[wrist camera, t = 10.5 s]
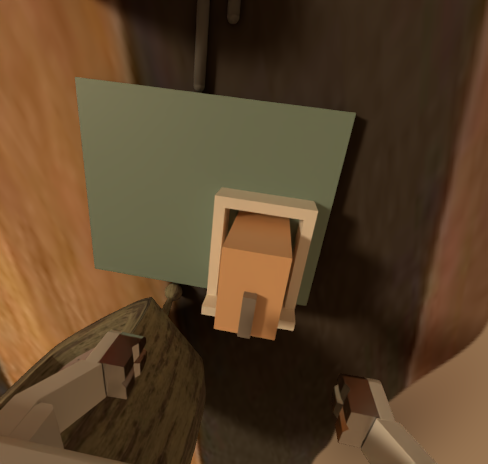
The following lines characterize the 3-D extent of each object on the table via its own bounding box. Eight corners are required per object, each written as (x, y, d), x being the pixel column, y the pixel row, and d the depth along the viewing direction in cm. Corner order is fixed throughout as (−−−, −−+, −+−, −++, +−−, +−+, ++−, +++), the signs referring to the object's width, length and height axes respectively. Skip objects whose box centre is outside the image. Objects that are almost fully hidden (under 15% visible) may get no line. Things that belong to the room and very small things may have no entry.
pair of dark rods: (204, -112, 16) (200, -123, 15) (252, -108, 16) (250, -119, 15) (195, 91, 20) (191, 90, 19) (232, 96, 20) (230, 95, 19)
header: (222, 187, 22) (209, 201, 18) (314, 201, 21) (321, 218, 17) (212, 285, 25) (201, 313, 21) (291, 299, 25) (293, 331, 21)
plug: (239, 209, 22) (220, 251, 15) (289, 217, 22) (292, 263, 15) (231, 273, 24) (211, 335, 17) (276, 281, 24) (274, 347, 17)
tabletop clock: (181, 264, 26) (-594, 1387, 3) (233, 332, 28) (23, 1257, 5) (79, 318, 30) (-558, 948, 7) (131, 374, 33) (-227, 983, 10)
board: (84, 78, 21) (74, 77, 20) (352, 113, 19) (356, 113, 18) (101, 263, 27) (94, 268, 26) (305, 299, 26) (306, 305, 25)
